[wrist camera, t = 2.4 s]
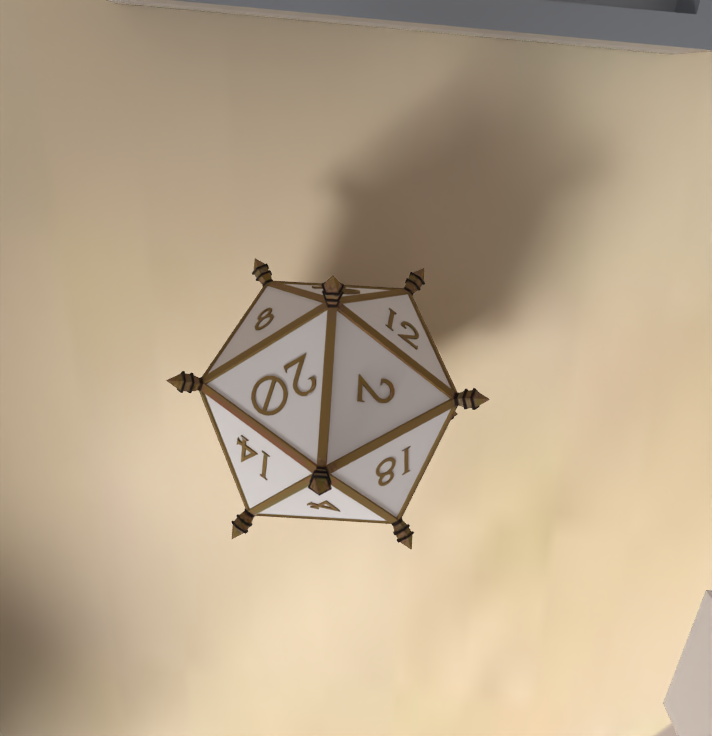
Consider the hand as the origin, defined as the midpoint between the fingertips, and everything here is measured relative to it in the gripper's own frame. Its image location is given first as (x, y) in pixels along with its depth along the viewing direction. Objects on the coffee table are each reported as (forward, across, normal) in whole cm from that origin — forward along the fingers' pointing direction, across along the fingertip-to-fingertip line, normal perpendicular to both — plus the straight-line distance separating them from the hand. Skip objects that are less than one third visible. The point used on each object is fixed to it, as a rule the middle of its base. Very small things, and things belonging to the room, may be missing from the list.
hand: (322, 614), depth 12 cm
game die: (+14, 0, 0) cm, 14 cm away
